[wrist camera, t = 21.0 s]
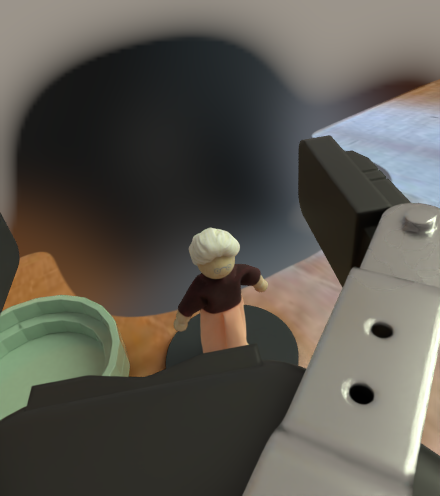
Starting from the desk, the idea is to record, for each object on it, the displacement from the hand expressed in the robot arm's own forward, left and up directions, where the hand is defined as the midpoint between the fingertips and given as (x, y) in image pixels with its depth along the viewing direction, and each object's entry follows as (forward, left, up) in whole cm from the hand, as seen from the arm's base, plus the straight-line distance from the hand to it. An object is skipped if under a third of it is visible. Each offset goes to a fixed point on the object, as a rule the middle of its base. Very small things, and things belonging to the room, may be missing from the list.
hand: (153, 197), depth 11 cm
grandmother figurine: (+1, +12, -23) cm, 26 cm away
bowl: (-15, +11, -23) cm, 30 cm away
